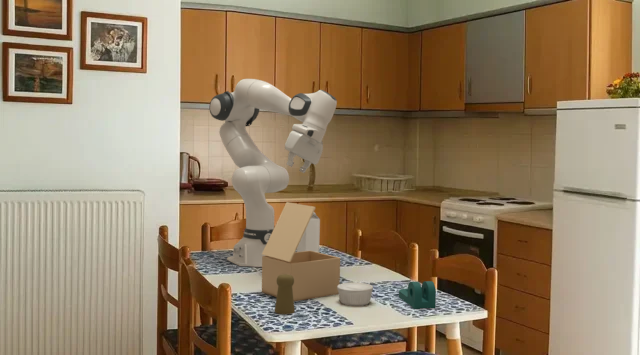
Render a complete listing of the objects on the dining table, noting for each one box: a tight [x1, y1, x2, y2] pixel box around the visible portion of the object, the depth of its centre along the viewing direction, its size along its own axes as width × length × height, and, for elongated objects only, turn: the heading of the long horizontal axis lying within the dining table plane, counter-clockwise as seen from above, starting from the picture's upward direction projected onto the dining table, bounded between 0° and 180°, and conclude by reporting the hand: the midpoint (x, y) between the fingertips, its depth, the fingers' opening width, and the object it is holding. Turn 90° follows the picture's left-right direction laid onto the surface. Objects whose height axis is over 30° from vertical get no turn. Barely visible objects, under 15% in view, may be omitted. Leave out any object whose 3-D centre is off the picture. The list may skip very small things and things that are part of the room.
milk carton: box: [296, 211, 321, 253], centre depth 309 cm, size 7×7×19 cm
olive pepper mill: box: [274, 274, 296, 315], centre depth 211 cm, size 6×6×11 cm
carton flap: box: [262, 201, 317, 262], centre depth 230 cm, size 15×19×1 cm
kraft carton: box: [261, 251, 341, 303], centre depth 234 cm, size 16×20×12 cm
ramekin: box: [337, 281, 374, 307], centre depth 224 cm, size 11×11×5 cm
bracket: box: [398, 280, 437, 310], centre depth 227 cm, size 18×7×8 cm, turn 12°
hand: (295, 169), depth 256 cm, fingers open, 8 cm apart
